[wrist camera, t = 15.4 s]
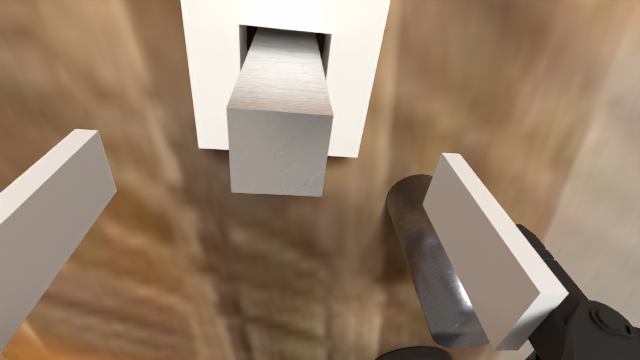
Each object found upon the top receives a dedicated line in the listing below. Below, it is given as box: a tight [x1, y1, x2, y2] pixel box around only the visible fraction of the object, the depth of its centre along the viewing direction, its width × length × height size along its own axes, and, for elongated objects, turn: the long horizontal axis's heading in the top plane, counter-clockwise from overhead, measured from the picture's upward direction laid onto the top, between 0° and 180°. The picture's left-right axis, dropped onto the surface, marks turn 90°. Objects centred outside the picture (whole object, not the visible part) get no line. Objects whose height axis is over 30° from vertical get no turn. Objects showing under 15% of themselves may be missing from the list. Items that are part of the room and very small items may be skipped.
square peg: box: [226, 26, 334, 196], centre depth 19 cm, size 4×4×14 cm
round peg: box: [386, 174, 490, 348], centre depth 28 cm, size 6×6×14 cm
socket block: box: [181, 0, 390, 157], centre depth 23 cm, size 12×12×4 cm
